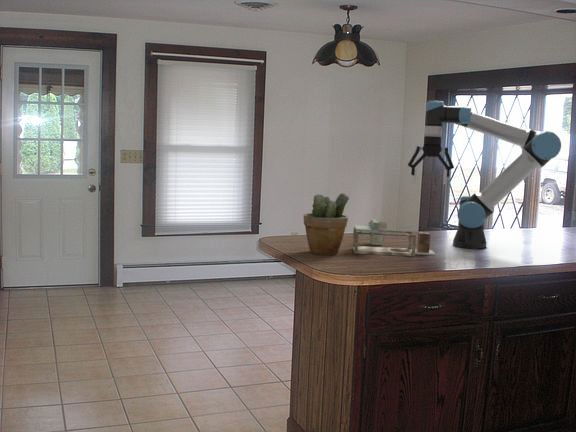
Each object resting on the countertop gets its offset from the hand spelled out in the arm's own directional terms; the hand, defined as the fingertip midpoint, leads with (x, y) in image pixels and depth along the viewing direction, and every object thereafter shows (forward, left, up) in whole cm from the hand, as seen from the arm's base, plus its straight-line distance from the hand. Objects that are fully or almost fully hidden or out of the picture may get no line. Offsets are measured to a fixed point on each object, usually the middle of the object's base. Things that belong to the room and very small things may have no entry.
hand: (429, 183), depth 310 cm
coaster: (+4, +17, -29) cm, 34 cm away
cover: (+29, +21, -19) cm, 41 cm away
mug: (+24, -1, -29) cm, 38 cm away
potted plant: (+47, +29, -29) cm, 62 cm away
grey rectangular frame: (+22, +21, -29) cm, 42 cm away
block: (+4, +17, -28) cm, 33 cm away
